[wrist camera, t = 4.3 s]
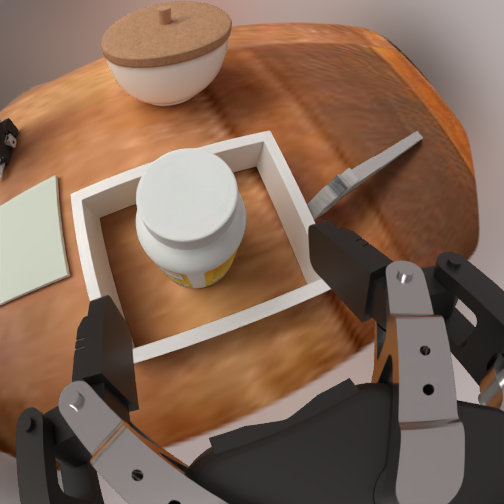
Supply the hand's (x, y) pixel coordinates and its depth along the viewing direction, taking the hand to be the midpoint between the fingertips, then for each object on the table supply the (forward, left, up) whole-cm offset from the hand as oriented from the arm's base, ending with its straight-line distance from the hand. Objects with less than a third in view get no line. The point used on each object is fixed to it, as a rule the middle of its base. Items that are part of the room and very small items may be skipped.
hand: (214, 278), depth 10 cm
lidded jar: (+16, +13, -9) cm, 22 cm away
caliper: (+16, -8, -9) cm, 21 cm away
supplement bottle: (+2, +2, -9) cm, 10 cm away
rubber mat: (-4, +17, -9) cm, 19 cm away
